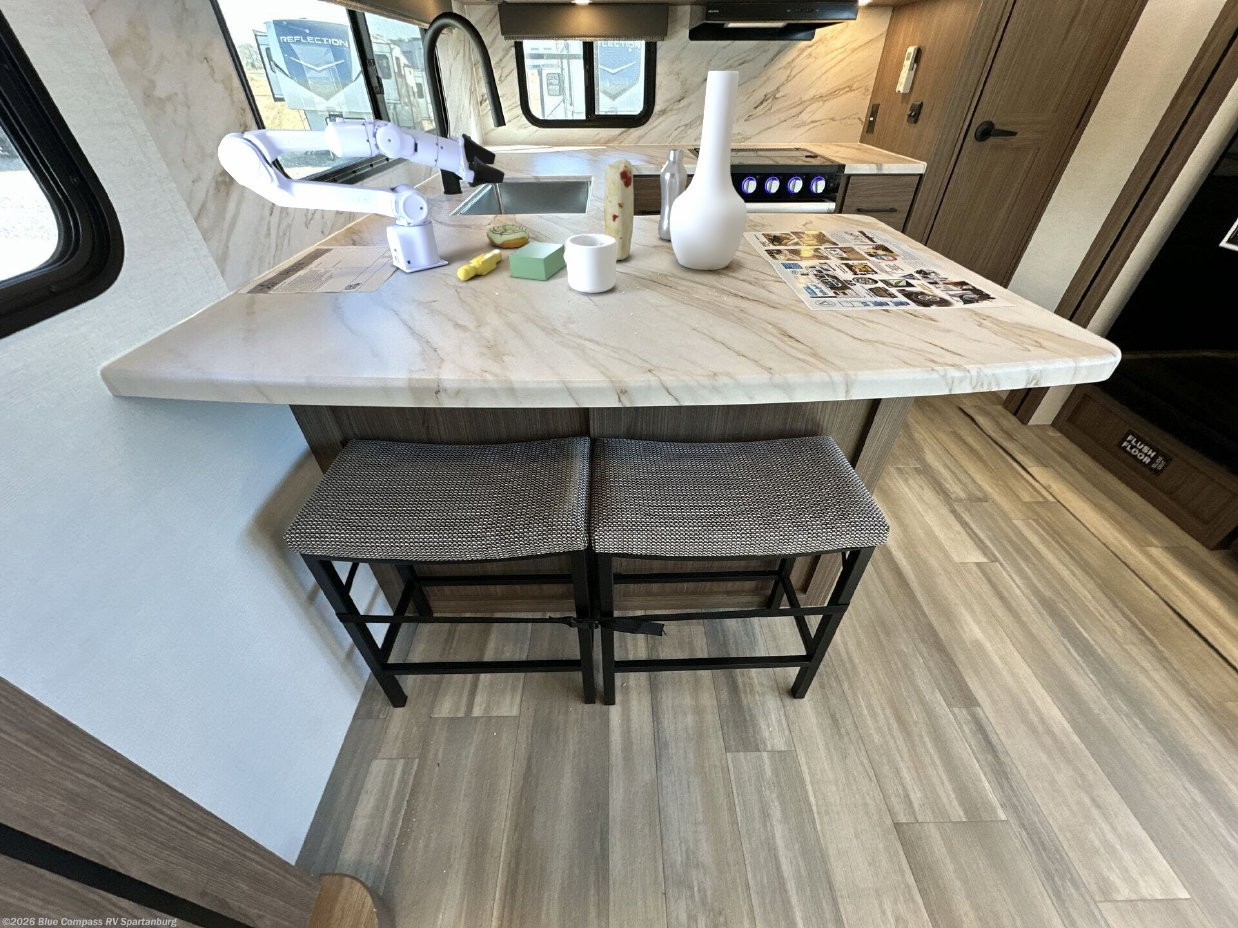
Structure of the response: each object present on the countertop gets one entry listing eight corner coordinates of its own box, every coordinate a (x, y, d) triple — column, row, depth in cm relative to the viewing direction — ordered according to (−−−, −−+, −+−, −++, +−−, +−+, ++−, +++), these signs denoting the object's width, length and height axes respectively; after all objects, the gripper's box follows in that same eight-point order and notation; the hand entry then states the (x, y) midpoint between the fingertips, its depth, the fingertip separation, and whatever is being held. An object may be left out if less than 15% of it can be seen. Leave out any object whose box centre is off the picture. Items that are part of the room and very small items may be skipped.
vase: (659, 253, 122) (670, 70, 100) (725, 251, 124) (749, 71, 102) (677, 276, 109) (693, 71, 87) (750, 272, 111) (784, 71, 90)
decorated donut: (496, 251, 123) (494, 235, 120) (483, 241, 130) (480, 225, 127) (536, 246, 127) (535, 229, 124) (521, 236, 134) (519, 220, 131)
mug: (582, 273, 110) (580, 228, 104) (626, 279, 107) (627, 233, 101) (557, 291, 101) (554, 243, 95) (605, 298, 98) (604, 249, 93)
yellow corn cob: (471, 283, 105) (468, 268, 103) (455, 281, 105) (452, 266, 104) (508, 260, 117) (506, 247, 115) (493, 259, 118) (491, 245, 116)
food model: (632, 264, 116) (634, 163, 103) (603, 263, 116) (602, 163, 103) (632, 251, 123) (635, 156, 111) (605, 251, 123) (604, 156, 111)
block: (545, 280, 106) (543, 258, 103) (511, 276, 108) (508, 254, 105) (565, 265, 114) (564, 244, 112) (533, 262, 116) (531, 241, 113)
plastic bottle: (683, 242, 130) (691, 152, 117) (657, 242, 130) (662, 151, 117) (682, 236, 135) (688, 148, 122) (656, 236, 135) (660, 148, 122)
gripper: (445, 150, 98) (512, 168, 105) (431, 113, 104) (494, 133, 112) (439, 185, 103) (503, 200, 110) (426, 148, 109) (487, 164, 117)
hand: (498, 168), depth 111 cm, fingers open, 7 cm apart
